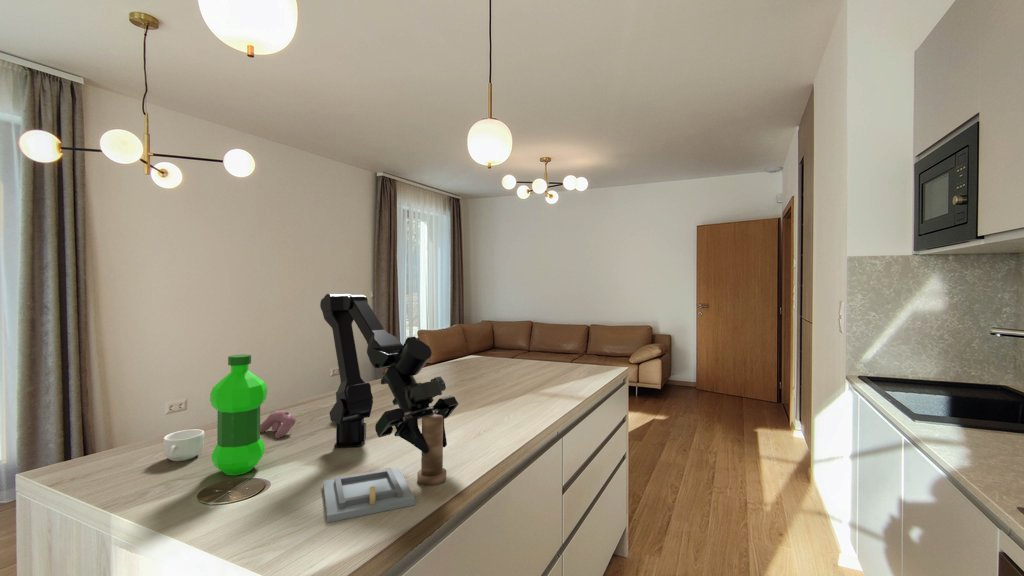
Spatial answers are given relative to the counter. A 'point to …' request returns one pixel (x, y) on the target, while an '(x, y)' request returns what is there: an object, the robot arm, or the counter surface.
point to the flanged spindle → (432, 451)
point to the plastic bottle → (238, 418)
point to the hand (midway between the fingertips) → (436, 449)
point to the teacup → (183, 444)
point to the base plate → (366, 494)
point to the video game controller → (278, 423)
